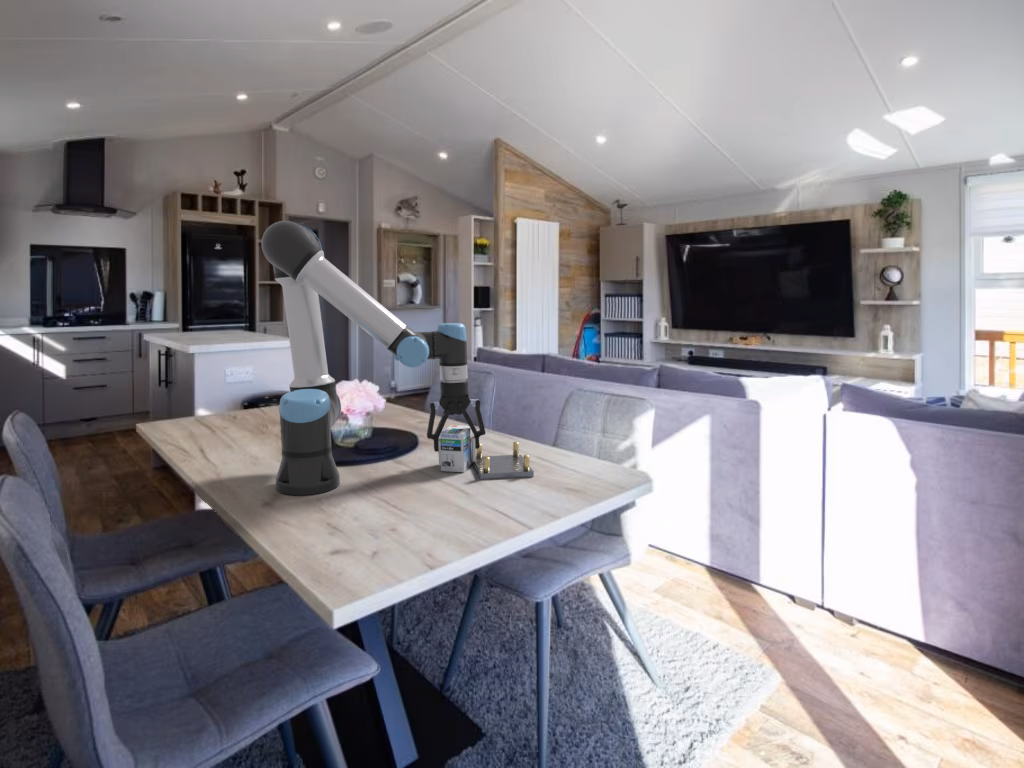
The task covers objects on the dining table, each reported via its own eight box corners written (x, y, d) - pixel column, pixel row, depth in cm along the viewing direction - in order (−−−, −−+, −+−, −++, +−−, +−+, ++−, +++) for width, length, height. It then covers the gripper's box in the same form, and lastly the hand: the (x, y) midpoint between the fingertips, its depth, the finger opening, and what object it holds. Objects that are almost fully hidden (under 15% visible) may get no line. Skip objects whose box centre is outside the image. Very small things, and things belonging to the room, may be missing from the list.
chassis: (480, 479, 164) (480, 458, 163) (472, 461, 180) (472, 442, 179) (533, 476, 166) (533, 456, 166) (520, 459, 183) (520, 441, 182)
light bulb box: (464, 473, 169) (463, 433, 167) (439, 471, 170) (439, 432, 169) (473, 462, 180) (473, 425, 178) (450, 461, 181) (450, 424, 179)
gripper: (414, 384, 166) (418, 468, 169) (495, 380, 169) (497, 462, 173) (413, 380, 173) (417, 460, 177) (490, 376, 177) (493, 455, 180)
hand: (457, 461), depth 175 cm, fingers open, 9 cm apart
